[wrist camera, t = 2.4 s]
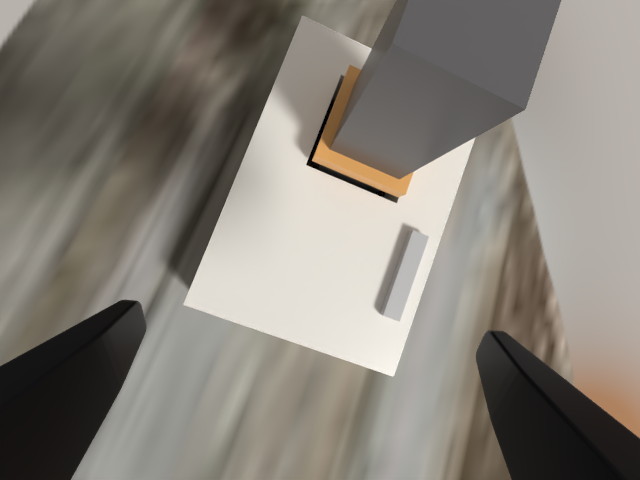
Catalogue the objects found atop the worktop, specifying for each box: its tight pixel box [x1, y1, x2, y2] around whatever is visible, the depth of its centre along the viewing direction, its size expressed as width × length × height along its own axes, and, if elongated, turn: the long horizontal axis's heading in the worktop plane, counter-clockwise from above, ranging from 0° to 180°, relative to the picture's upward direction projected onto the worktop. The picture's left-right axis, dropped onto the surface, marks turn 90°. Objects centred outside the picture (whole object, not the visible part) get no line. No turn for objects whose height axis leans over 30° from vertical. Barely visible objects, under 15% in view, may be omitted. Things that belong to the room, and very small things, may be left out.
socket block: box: [183, 15, 475, 377], centre depth 19 cm, size 17×12×4 cm
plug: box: [312, 0, 561, 197], centre depth 15 cm, size 5×5×13 cm
